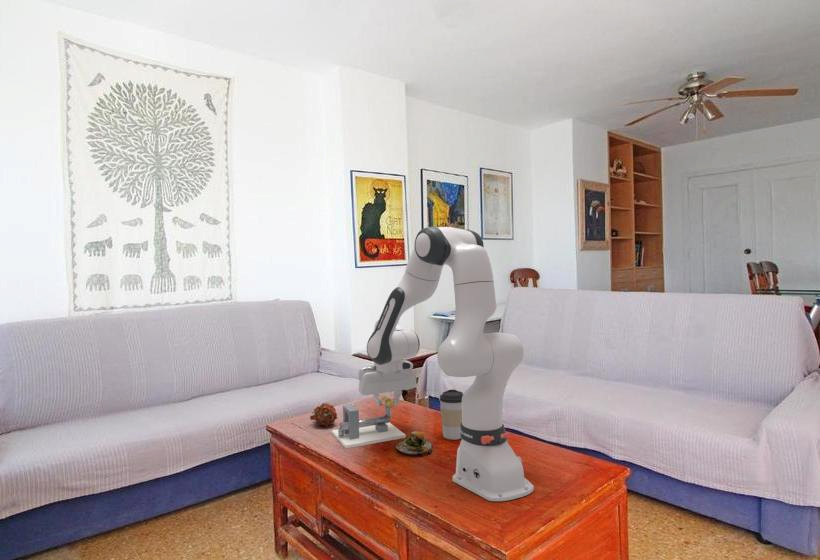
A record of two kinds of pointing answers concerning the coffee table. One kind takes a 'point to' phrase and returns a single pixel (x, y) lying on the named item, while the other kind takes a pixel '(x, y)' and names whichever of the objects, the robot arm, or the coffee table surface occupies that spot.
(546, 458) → the coffee table surface
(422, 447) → the burger
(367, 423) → the hook
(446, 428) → the coffee cup
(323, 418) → the dragon fruit
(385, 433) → the board
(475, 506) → the coffee table surface
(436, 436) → the coffee table surface
